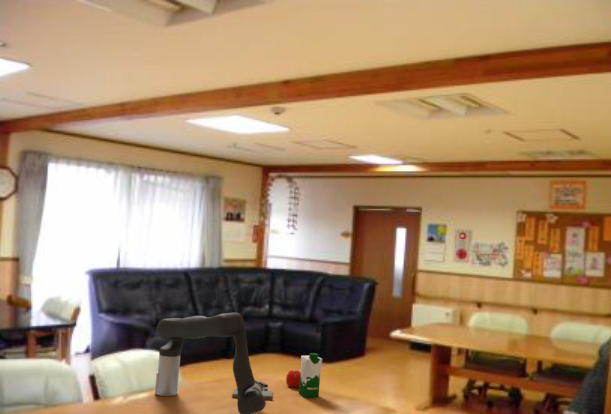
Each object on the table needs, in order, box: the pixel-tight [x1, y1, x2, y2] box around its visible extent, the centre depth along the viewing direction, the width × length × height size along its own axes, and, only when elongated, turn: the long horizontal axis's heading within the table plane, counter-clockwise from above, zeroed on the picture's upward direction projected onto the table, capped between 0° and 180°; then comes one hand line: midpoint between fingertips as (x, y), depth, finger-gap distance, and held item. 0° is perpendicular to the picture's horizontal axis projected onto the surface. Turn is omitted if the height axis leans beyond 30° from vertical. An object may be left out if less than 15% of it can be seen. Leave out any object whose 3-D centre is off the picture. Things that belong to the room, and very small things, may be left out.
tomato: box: [285, 370, 301, 389], centre depth 297 cm, size 9×9×8 cm
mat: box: [232, 388, 273, 397], centre depth 278 cm, size 18×10×1 cm, turn 93°
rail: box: [231, 392, 273, 401], centre depth 271 cm, size 18×2×2 cm, turn 93°
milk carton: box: [298, 352, 323, 399], centre depth 283 cm, size 9×9×20 cm
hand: (253, 381), depth 263 cm, fingers closed
